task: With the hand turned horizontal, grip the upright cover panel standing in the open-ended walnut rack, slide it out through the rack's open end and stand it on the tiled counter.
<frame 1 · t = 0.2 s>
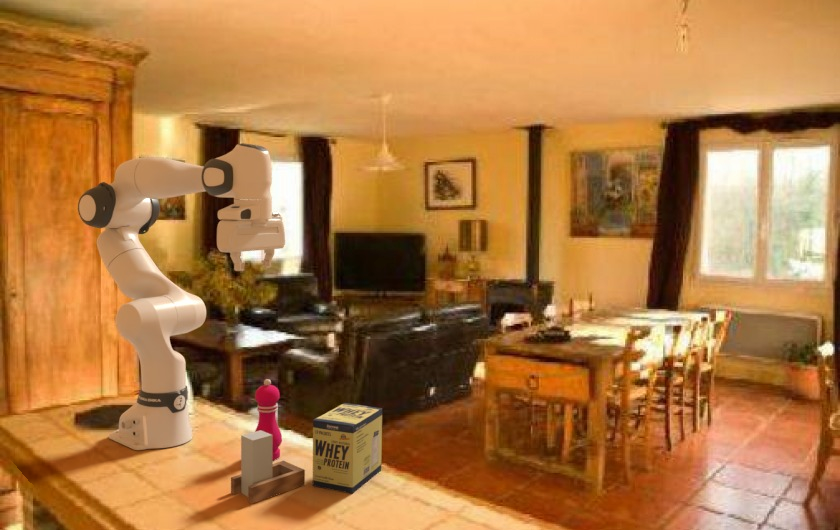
hand: (253, 269, 160), 48 cm above the worktop, tool pointing down, fingers open, 8 cm apart
pepper mill: (267, 457, 167), on the worktop
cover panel: (256, 492, 145), on the worktop
rack: (268, 488, 148), on the worktop
protein box: (348, 478, 155), on the worktop
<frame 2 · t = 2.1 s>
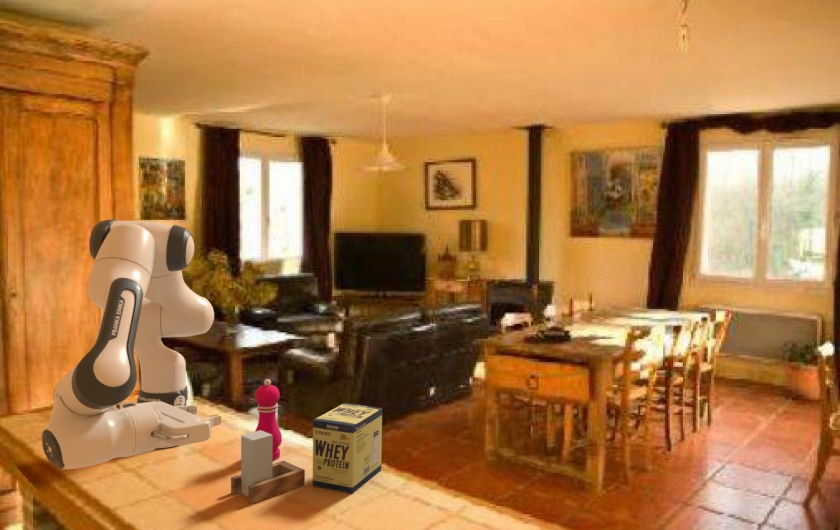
hand: (207, 414, 135), 20 cm above the worktop, tool horizontal, fingers open, 8 cm apart
nothing on the worktop moved.
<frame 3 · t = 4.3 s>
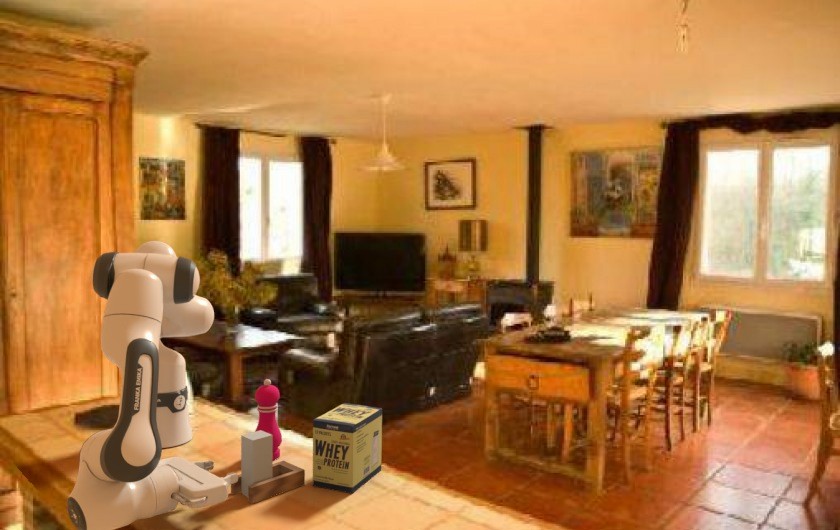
hand: (223, 470, 139), 7 cm above the worktop, tool horizontal, fingers open, 8 cm apart
nothing on the worktop moved.
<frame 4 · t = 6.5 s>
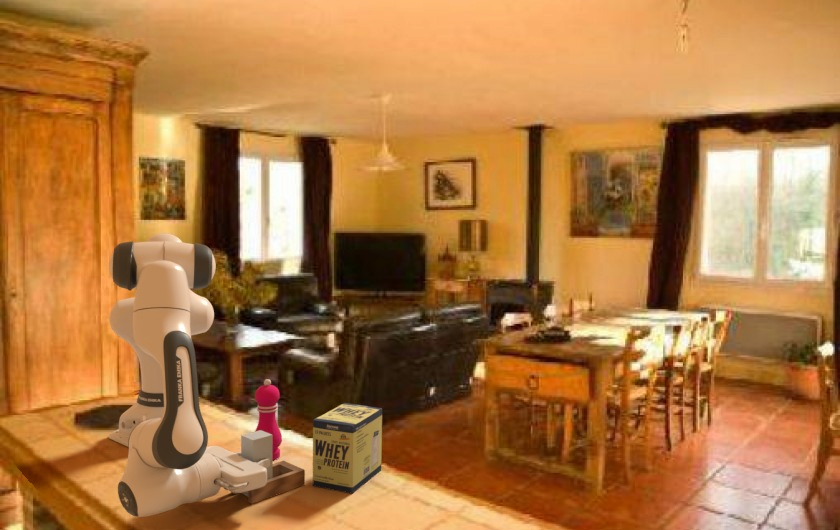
hand: (260, 458, 146), 8 cm above the worktop, tool horizontal, fingers closed on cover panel, 4 cm apart
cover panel: (256, 492, 145), on the worktop, touching gripper
everything else where it was.
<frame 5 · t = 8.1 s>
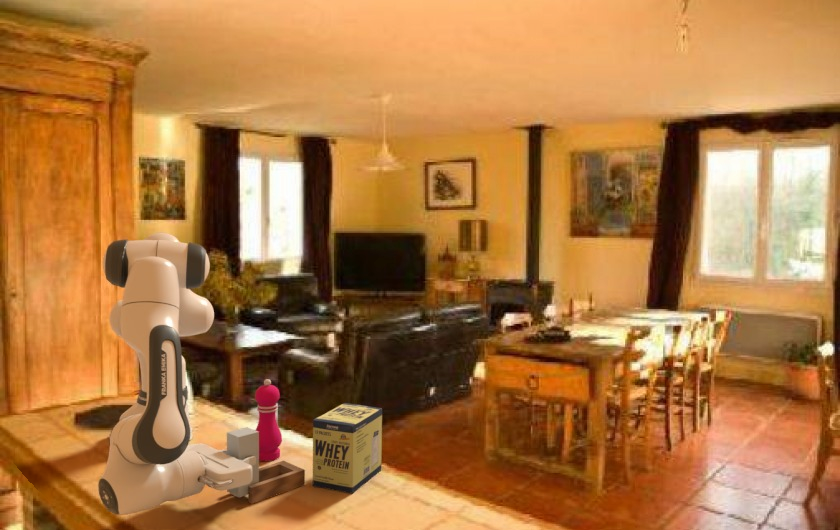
hand: (246, 455, 143), 9 cm above the worktop, tool horizontal, fingers closed on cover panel, 4 cm apart
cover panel: (242, 491, 143), point 2 cm above the worktop, touching gripper
everything else where it was.
when the fingers open (8 cm above the worktop, at t = 9.7 s): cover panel stays where it is, on the worktop.
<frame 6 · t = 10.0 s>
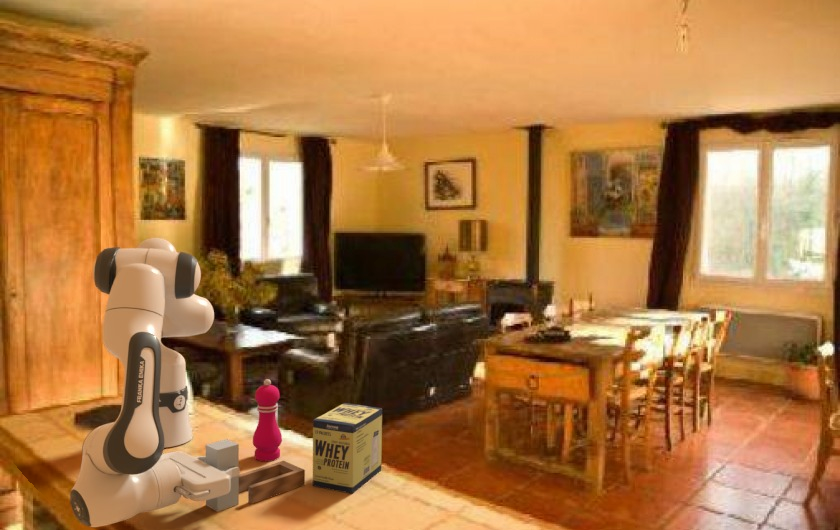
hand: (226, 464, 139), 8 cm above the worktop, tool horizontal, fingers open, 7 cm apart
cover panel: (222, 504, 139), on the worktop
everything else where it was.
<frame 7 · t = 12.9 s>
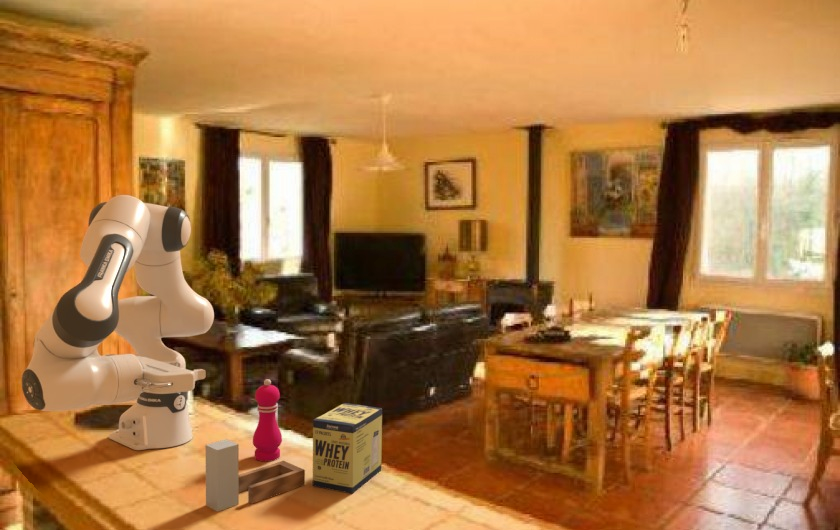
hand: (190, 369, 133), 30 cm above the worktop, tool horizontal, fingers open, 8 cm apart
nothing on the worktop moved.
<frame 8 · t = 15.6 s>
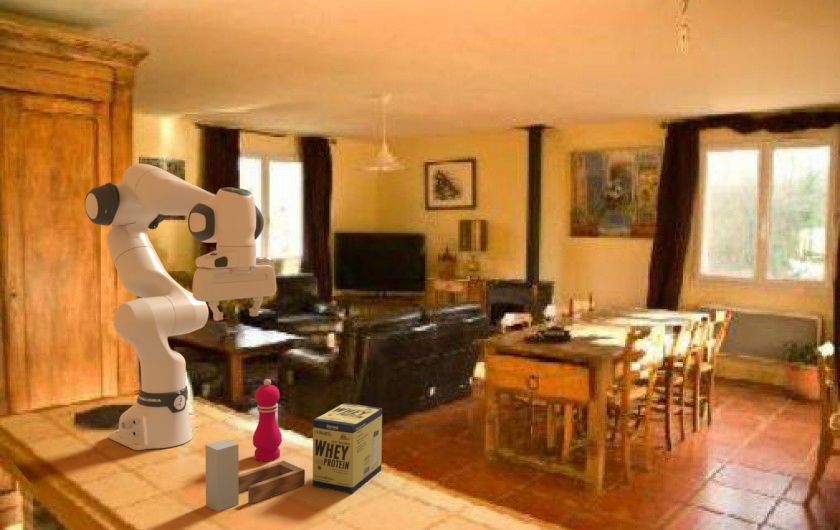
hand: (236, 318, 153), 37 cm above the worktop, tool pointing down, fingers open, 8 cm apart
nothing on the worktop moved.
at the end: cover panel inside the target area (3.2 cm from its centre), on the worktop; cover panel touching worktop; the gripper is holding nothing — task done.
